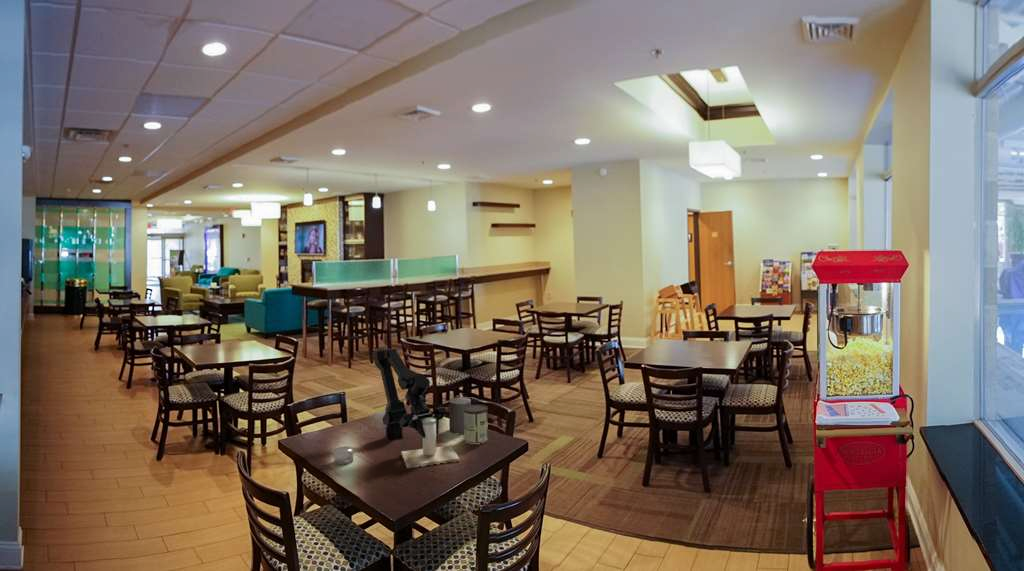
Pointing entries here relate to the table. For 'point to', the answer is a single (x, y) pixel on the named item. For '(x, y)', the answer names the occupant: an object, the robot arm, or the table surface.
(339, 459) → the grey tin
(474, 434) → the coffee can
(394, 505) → the table surface
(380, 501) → the table surface
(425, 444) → the white cylinder
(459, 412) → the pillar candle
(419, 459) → the birch board
